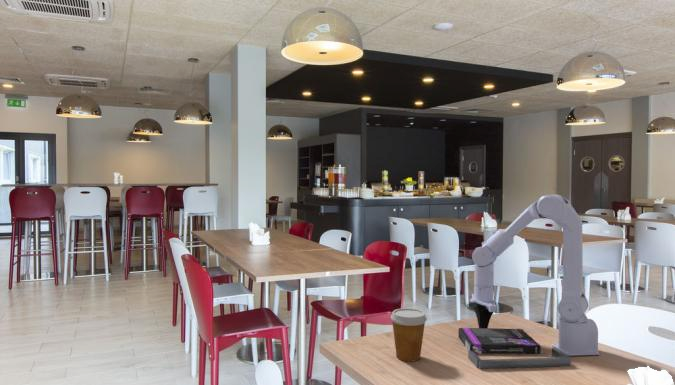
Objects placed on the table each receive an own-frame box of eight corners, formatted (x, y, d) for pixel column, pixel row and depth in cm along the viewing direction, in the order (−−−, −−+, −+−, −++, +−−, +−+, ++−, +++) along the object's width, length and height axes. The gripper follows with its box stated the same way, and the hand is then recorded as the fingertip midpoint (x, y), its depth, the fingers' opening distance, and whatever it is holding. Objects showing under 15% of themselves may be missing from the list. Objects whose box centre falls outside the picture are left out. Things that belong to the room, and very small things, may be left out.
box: (469, 356, 131) (541, 356, 130) (469, 344, 131) (541, 344, 130) (458, 339, 145) (523, 338, 144) (458, 327, 145) (523, 327, 144)
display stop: (555, 355, 130) (555, 348, 130) (571, 366, 122) (571, 358, 122) (468, 358, 127) (468, 350, 127) (479, 369, 120) (479, 361, 120)
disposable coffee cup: (427, 352, 131) (428, 309, 131) (424, 365, 122) (425, 319, 122) (393, 349, 134) (393, 306, 133) (387, 361, 125) (387, 316, 124)
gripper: (462, 280, 154) (462, 322, 155) (480, 290, 140) (479, 336, 140) (484, 280, 155) (483, 321, 155) (503, 290, 141) (502, 336, 141)
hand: (483, 328), depth 148 cm, fingers closed
